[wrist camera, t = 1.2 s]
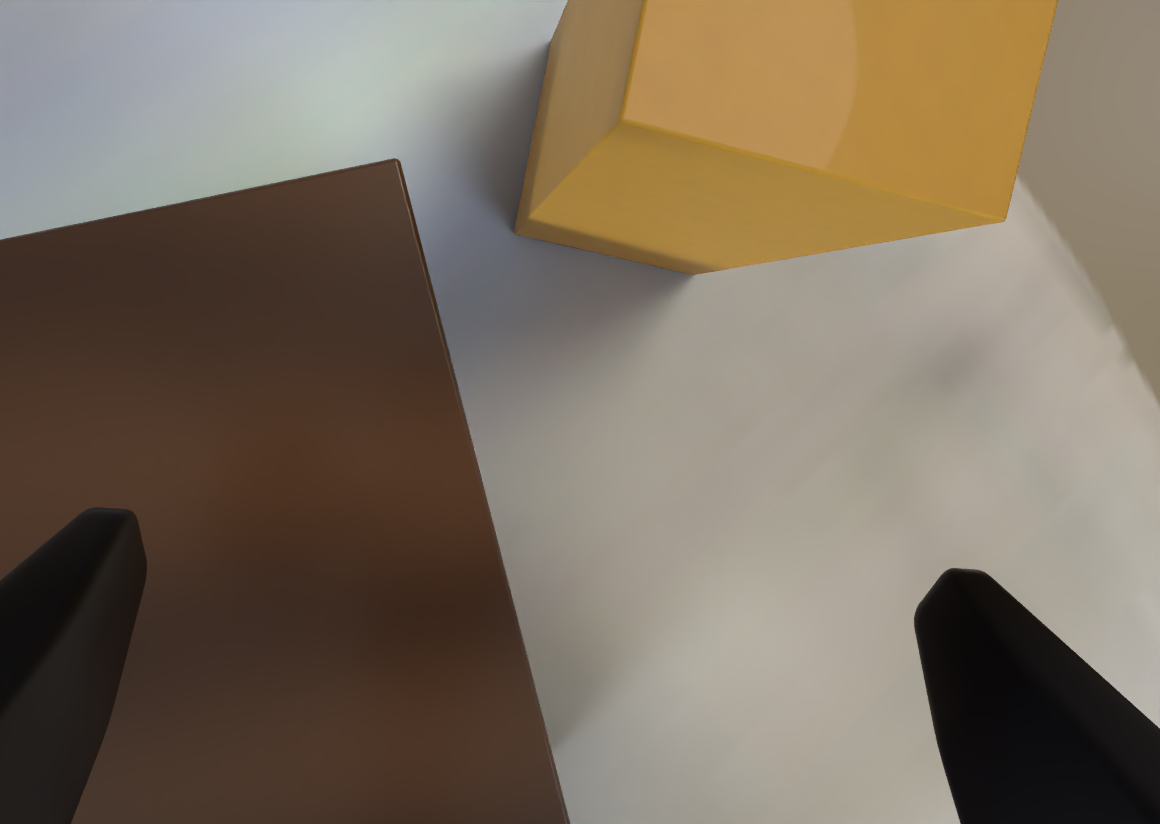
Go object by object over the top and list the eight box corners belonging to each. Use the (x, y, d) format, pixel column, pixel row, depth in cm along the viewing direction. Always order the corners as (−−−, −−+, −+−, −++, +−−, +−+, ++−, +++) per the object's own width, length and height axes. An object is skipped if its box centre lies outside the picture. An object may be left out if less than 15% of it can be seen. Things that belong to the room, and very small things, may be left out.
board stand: (569, 825, 24) (596, 925, 20) (50, 996, 22) (-35, 1146, 18) (405, 187, 21) (398, 156, 17) (-204, 315, 19) (-368, 315, 15)
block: (695, 275, 23) (1006, 222, 10) (513, 233, 22) (618, 121, 9) (734, 88, 22) (1106, -197, 10) (551, 38, 21) (713, -346, 9)
